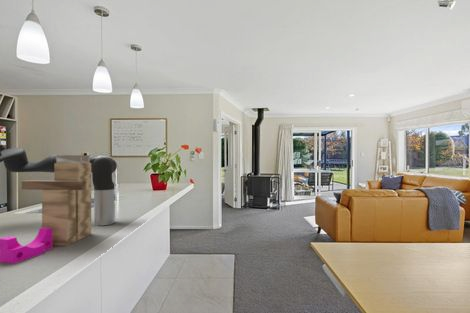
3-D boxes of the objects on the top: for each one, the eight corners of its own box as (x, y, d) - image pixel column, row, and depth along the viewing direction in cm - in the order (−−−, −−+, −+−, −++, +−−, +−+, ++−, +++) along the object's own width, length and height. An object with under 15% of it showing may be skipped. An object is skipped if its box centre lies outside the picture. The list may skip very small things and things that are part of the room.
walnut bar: (28, 188, 110) (28, 180, 110) (86, 188, 108) (86, 180, 108) (21, 189, 107) (21, 181, 107) (80, 190, 105) (80, 181, 105)
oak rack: (69, 233, 121) (69, 155, 121) (91, 233, 120) (91, 155, 120) (42, 244, 105) (41, 155, 105) (67, 245, 105) (66, 155, 104)
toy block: (12, 264, 87) (12, 240, 87) (-1, 261, 89) (-1, 238, 89) (57, 248, 101) (57, 228, 101) (44, 247, 103) (44, 227, 103)
